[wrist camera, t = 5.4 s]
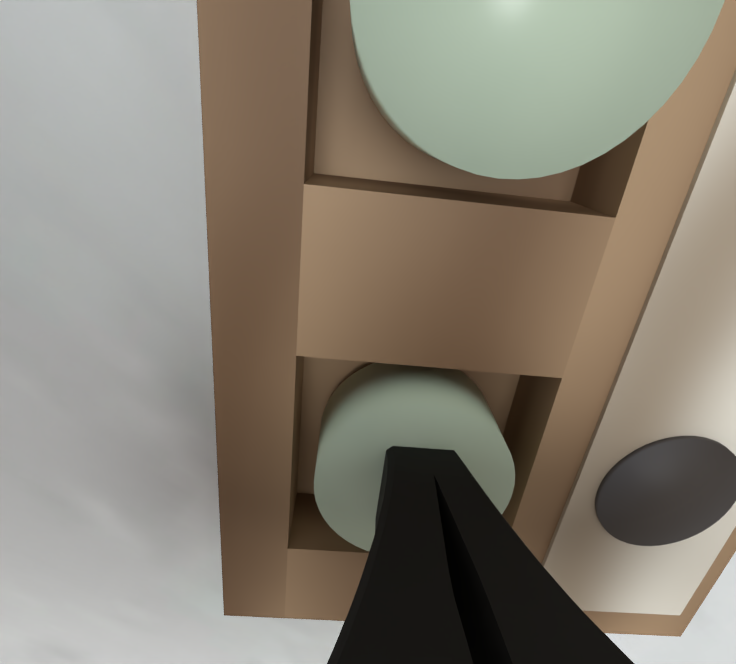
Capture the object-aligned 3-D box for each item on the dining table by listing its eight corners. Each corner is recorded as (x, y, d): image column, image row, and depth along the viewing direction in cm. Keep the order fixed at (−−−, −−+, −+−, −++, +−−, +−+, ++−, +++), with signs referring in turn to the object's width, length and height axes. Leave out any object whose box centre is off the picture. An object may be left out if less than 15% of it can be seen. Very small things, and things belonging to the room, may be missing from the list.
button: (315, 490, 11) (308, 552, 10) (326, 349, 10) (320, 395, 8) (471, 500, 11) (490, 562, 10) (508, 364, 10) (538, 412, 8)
